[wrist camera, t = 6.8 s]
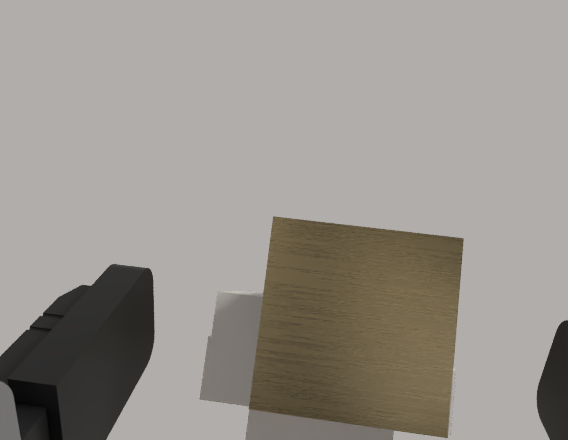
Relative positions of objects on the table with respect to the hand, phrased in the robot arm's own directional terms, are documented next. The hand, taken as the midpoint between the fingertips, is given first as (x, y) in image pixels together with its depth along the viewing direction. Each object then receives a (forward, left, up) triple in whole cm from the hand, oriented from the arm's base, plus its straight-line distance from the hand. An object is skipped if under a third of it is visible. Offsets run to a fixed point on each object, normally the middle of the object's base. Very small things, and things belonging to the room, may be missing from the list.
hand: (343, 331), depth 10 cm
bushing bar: (0, -9, -1) cm, 9 cm away
